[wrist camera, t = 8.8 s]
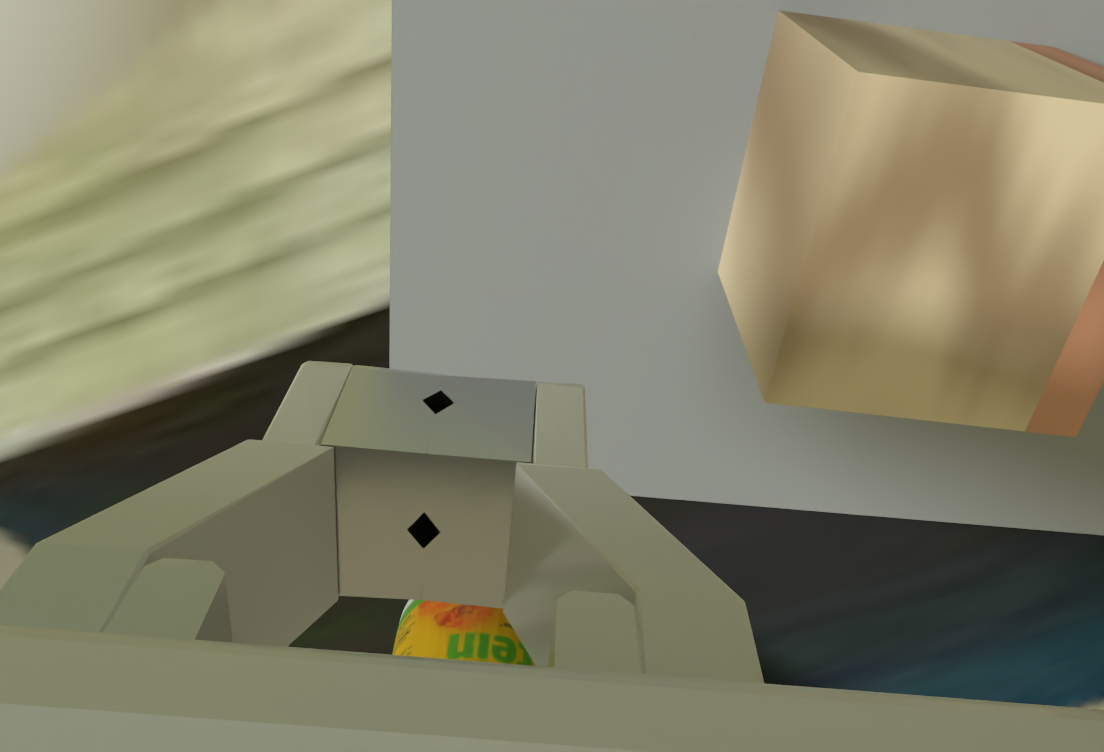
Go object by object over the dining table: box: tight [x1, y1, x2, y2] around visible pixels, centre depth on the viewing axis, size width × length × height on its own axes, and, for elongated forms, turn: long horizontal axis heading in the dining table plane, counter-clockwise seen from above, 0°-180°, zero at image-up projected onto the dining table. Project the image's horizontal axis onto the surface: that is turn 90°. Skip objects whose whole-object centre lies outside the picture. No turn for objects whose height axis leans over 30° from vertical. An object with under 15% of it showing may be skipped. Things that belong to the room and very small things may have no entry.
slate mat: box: [390, 0, 1104, 535], centre depth 21 cm, size 20×24×1 cm
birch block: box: [718, 10, 1104, 437], centre depth 18 cm, size 6×6×6 cm
